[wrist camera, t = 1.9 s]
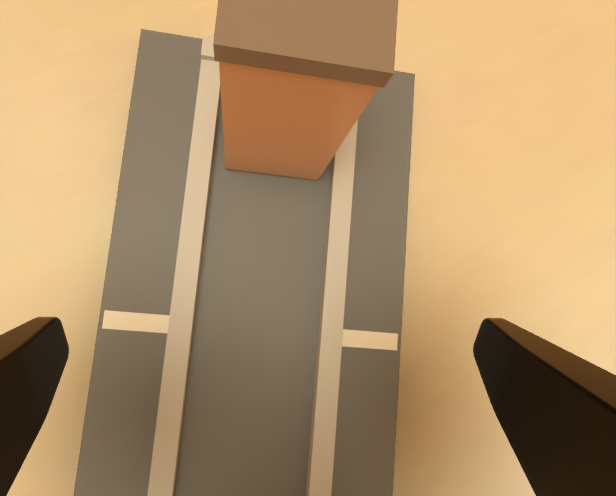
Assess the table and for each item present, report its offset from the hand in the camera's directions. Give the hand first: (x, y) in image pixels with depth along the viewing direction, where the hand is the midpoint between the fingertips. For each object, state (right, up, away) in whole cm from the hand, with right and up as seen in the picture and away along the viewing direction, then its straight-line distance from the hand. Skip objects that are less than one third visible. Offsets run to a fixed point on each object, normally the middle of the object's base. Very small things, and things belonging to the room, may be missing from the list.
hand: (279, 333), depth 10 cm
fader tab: (-1, +7, +13) cm, 14 cm away
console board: (-2, 0, +13) cm, 13 cm away
